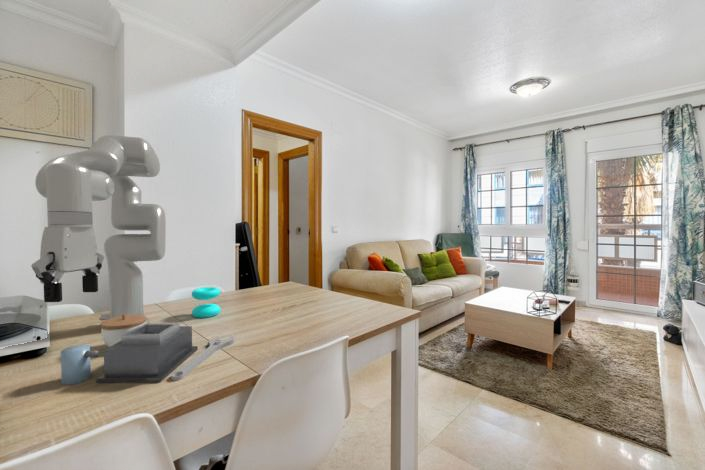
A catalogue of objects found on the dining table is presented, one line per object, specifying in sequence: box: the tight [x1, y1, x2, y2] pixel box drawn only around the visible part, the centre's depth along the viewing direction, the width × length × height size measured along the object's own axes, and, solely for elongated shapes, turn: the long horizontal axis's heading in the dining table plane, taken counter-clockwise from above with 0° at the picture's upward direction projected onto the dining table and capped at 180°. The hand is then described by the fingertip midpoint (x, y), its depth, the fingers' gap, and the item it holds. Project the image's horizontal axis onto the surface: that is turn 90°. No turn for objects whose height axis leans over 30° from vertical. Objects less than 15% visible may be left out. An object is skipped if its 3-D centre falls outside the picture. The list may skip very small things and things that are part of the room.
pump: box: [60, 344, 100, 386], centre depth 72 cm, size 7×5×7 cm
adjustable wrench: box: [170, 335, 235, 382], centre depth 84 cm, size 25×6×2 cm, turn 171°
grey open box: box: [96, 322, 198, 384], centre depth 79 cm, size 14×18×9 cm
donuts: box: [191, 286, 221, 319], centre depth 122 cm, size 10×10×10 cm
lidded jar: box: [99, 314, 148, 348], centre depth 91 cm, size 11×11×9 cm
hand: (73, 296), depth 71 cm, fingers open, 9 cm apart
